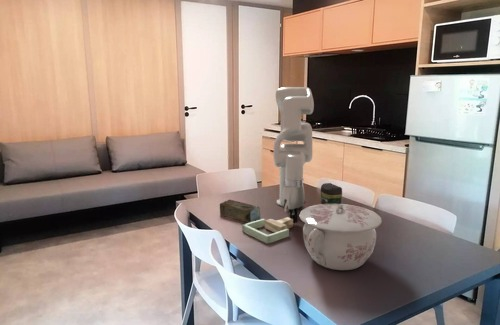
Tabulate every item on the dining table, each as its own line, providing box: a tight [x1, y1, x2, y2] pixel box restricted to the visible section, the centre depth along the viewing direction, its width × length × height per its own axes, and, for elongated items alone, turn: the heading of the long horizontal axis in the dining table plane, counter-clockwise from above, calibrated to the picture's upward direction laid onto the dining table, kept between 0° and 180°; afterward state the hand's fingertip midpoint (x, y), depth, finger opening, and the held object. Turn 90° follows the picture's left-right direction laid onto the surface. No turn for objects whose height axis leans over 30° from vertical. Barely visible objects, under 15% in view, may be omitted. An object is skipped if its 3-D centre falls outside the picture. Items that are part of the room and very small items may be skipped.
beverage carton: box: [219, 199, 261, 223], centre depth 172 cm, size 8×19×7 cm, turn 53°
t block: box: [264, 216, 294, 233], centre depth 157 cm, size 10×10×4 cm
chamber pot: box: [298, 203, 383, 271], centre depth 125 cm, size 28×28×21 cm
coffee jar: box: [320, 182, 343, 204], centre depth 159 cm, size 10×8×19 cm
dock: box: [241, 218, 290, 244], centre depth 152 cm, size 12×16×3 cm
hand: (293, 222), depth 161 cm, fingers closed
